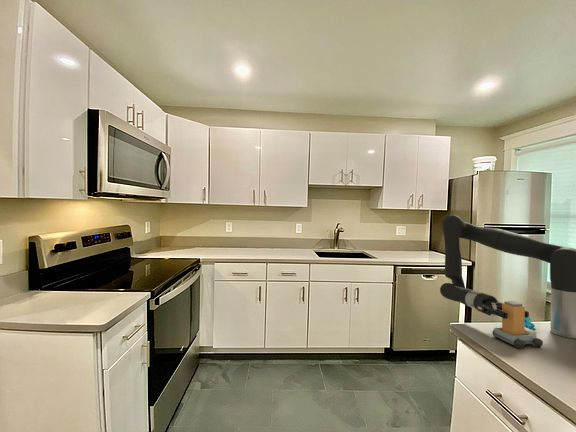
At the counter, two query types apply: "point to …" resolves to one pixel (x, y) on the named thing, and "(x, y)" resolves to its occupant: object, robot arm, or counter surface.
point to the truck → (519, 338)
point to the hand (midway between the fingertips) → (517, 315)
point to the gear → (529, 324)
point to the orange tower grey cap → (513, 318)
